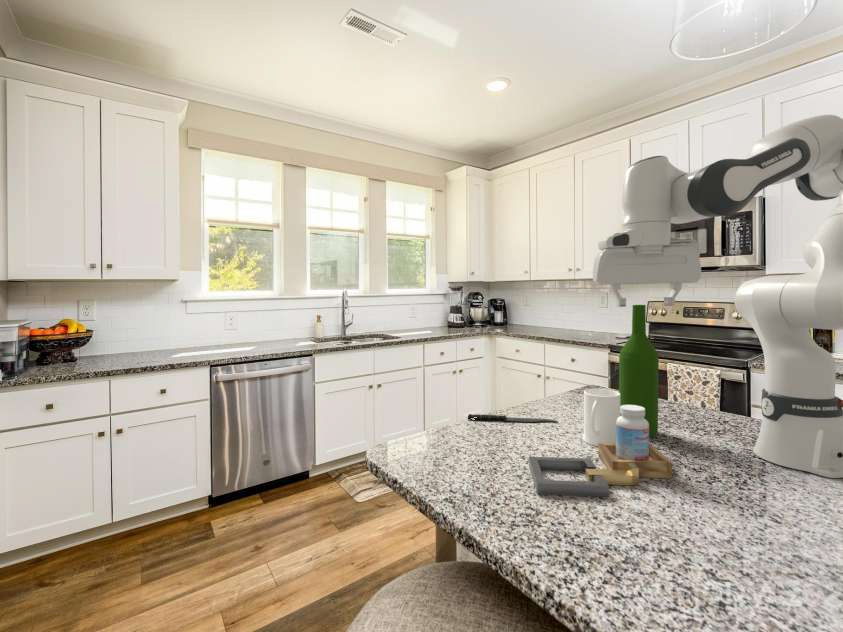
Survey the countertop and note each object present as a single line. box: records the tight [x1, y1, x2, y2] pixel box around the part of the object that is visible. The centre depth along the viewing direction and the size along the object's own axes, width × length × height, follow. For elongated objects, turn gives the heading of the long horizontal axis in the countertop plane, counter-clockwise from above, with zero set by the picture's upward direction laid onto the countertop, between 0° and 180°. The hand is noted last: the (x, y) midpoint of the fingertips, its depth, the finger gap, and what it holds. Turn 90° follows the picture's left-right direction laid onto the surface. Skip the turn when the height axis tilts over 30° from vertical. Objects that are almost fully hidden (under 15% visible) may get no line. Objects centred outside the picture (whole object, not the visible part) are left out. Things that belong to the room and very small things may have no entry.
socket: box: [528, 456, 610, 498], centre depth 82 cm, size 12×12×2 cm
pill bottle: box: [616, 405, 650, 460], centre depth 88 cm, size 6×6×11 cm
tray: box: [597, 443, 673, 479], centre depth 88 cm, size 11×10×3 cm
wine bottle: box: [618, 304, 660, 438], centre depth 108 cm, size 9×9×32 cm
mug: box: [582, 388, 620, 447], centre depth 101 cm, size 12×8×12 cm
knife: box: [467, 413, 559, 424], centre depth 120 cm, size 25×2×5 cm
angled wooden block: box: [584, 463, 640, 487], centre depth 81 cm, size 9×3×3 cm, turn 83°
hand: (645, 306), depth 88 cm, fingers open, 8 cm apart
